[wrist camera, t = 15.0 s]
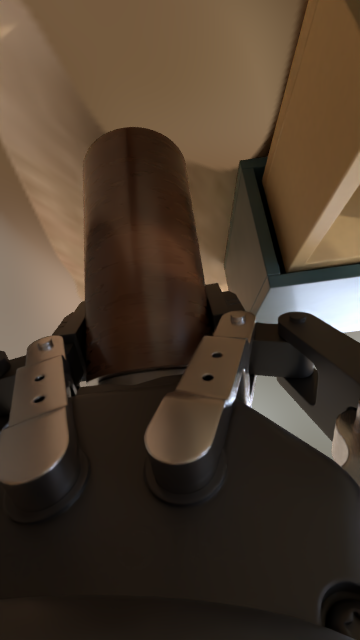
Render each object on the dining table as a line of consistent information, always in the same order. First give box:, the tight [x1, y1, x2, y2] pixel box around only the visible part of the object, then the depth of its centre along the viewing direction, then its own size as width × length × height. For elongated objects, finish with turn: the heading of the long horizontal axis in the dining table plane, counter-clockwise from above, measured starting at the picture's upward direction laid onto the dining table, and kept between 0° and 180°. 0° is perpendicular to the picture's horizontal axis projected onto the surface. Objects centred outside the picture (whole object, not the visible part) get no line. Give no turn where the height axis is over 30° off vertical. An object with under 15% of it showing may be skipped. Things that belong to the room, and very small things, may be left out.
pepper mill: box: [83, 127, 213, 386], centre depth 13 cm, size 5×5×14 cm
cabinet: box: [224, 157, 360, 333], centre depth 21 cm, size 12×14×8 cm
